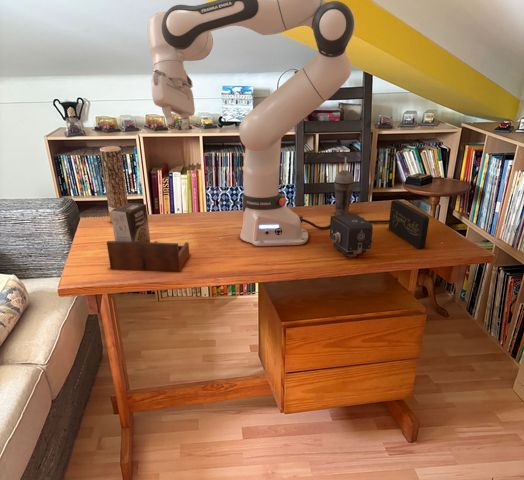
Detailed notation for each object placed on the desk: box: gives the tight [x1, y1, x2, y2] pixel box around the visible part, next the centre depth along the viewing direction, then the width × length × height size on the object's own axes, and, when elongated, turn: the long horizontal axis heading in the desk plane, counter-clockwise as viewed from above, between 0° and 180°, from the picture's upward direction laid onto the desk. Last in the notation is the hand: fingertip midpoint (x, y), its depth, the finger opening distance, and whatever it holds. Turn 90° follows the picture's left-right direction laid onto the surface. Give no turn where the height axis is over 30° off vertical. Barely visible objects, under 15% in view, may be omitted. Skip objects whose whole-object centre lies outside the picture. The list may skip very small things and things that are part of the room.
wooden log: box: [99, 145, 129, 224], centre depth 186 cm, size 7×7×25 cm
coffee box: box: [111, 202, 151, 242], centre depth 155 cm, size 9×6×16 cm
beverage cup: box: [333, 156, 355, 215], centre depth 195 cm, size 7×7×20 cm
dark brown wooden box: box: [106, 240, 190, 273], centre depth 156 cm, size 20×13×8 cm, turn 84°
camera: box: [328, 213, 374, 258], centre depth 162 cm, size 11×11×15 cm
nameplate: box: [388, 199, 430, 249], centre depth 173 cm, size 21×2×10 cm, turn 15°
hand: (178, 127), depth 158 cm, fingers open, 8 cm apart
